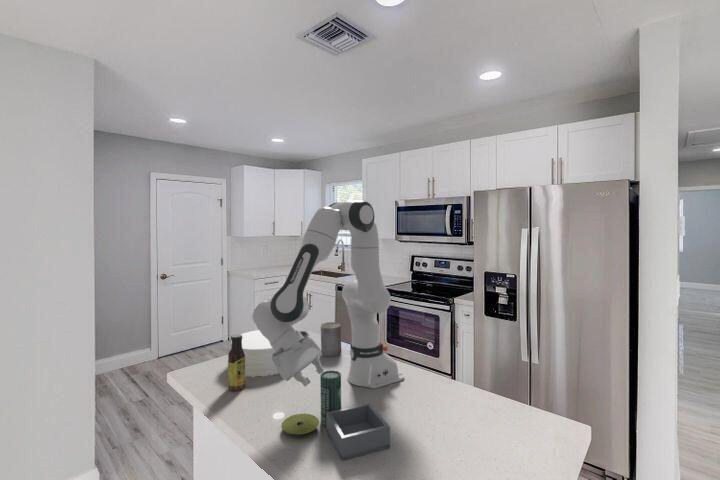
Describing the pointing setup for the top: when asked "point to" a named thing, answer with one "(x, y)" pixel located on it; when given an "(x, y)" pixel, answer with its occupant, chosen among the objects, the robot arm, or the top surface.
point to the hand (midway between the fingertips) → (315, 378)
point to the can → (330, 393)
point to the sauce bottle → (236, 364)
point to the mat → (300, 424)
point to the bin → (357, 431)
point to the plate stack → (257, 354)
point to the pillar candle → (331, 339)
